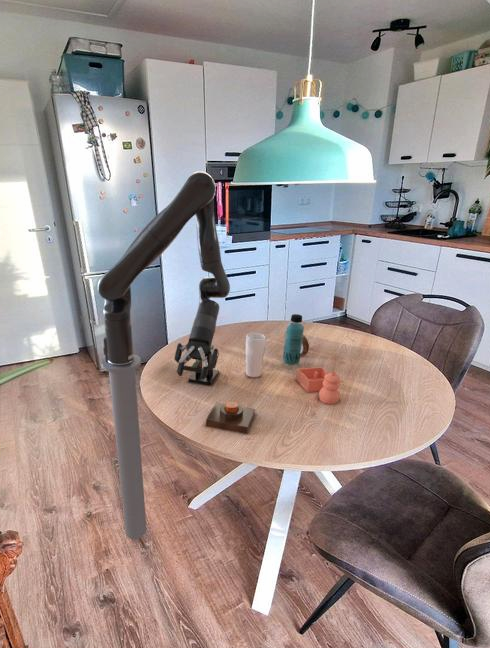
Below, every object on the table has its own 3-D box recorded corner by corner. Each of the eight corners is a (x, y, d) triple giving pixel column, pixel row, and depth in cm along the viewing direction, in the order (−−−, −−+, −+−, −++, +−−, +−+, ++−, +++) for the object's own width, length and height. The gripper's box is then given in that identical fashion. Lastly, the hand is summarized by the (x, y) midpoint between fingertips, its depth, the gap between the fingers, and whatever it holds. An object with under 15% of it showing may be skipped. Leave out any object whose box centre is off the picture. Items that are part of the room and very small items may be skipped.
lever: (200, 375, 122) (200, 368, 120) (182, 372, 123) (182, 365, 122) (214, 353, 133) (214, 347, 132) (197, 351, 135) (197, 345, 134)
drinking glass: (257, 369, 144) (260, 331, 137) (265, 377, 138) (269, 338, 132) (240, 371, 142) (243, 333, 135) (248, 380, 136) (251, 340, 129)
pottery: (296, 379, 137) (299, 354, 133) (320, 377, 140) (324, 352, 135) (319, 405, 122) (324, 378, 117) (346, 402, 124) (351, 375, 120)
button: (223, 411, 110) (224, 406, 109) (227, 405, 113) (227, 400, 112) (236, 414, 109) (236, 408, 108) (239, 407, 112) (239, 402, 112)
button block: (206, 425, 110) (206, 414, 108) (216, 408, 118) (216, 396, 117) (247, 433, 107) (248, 421, 105) (254, 415, 116) (255, 403, 114)
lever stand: (210, 385, 131) (211, 354, 126) (188, 382, 133) (188, 350, 128) (219, 373, 140) (220, 343, 135) (198, 369, 142) (198, 340, 137)
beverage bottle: (279, 362, 150) (284, 313, 142) (294, 360, 152) (299, 311, 144) (287, 369, 144) (293, 318, 136) (302, 367, 147) (309, 317, 138)
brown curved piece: (308, 357, 155) (310, 338, 151) (301, 358, 154) (304, 339, 150) (289, 344, 167) (291, 325, 164) (282, 344, 166) (284, 326, 163)
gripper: (179, 322, 126) (166, 369, 120) (222, 328, 122) (210, 377, 117) (185, 332, 132) (173, 377, 127) (226, 337, 129) (214, 384, 124)
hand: (190, 377), depth 122 cm, fingers open, 7 cm apart
